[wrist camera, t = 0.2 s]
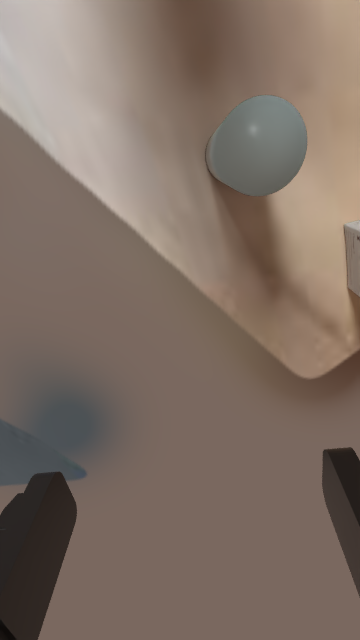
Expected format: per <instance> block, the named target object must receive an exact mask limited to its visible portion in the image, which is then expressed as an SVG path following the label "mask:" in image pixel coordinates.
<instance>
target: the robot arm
mask: <svg viewBox="0 0 360 640" xmlns="http://www.w3.org/2000/svg"><path fill="white" fill-rule="evenodd" d="M322 477H323V478H322V486H323V493H324V498H325V502H326V505H327V508H328V511H329V514H330V517H331V520H332V522H333V525H334V527H335V531H336V533H337V536H338V539H339V542H340V544H341V547H342V550H343V552H344V555H345V558H346V561H347V563H348V566H349V569H350V572H351V574H352V577H353V580H354V583H355V585H356V588H357V591H358V594H359V596H360V461H359V459H358V457H357V455H356V453H355V451H354V450H353V449H352V448H351V447H349V448H337V449H326V450H324V451H323V475H322ZM76 514H77V508H76V502H75V500H74V498H73V496H72V493H71V491H70V489H69V487H68V485H67V483H66V481H65V478H64V476H63V474H62V473H61V472H48V473H37V474H35V475H34V476H33V477H32V478H31V480H30V481H29V483H28V485H27V487H26V490H25V491H24V493H19V494H17V495H16V496H15V497H14V499H13V500H12V501H11V502H10V503H9V504H8V505H7V506H6V507H5V508H4V510H3V511H2V513H1V515H0V640H37V639H38V637H39V634H40V631H41V628H42V624H43V621H44V618H45V615H46V612H47V609H48V606H49V603H50V600H51V597H52V594H53V590H54V587H55V584H56V581H57V578H58V575H59V572H60V569H61V566H62V562H63V560H64V556H65V553H66V550H67V547H68V544H69V541H70V538H71V535H72V532H73V528H74V525H75V522H76V516H77V515H76Z"/></svg>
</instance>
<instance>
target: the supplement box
mask: <svg viewBox="0 0 360 640" xmlns="http://www.w3.org/2000/svg"><path fill="white" fill-rule="evenodd" d="M344 229H345V238H346V249H347V271H348V288H349V289H350V290H351V291H353V292H354V293H355V294H356V295H358V296H359V297H360V220H358V221H354V222H350V223H346V224H344Z"/></svg>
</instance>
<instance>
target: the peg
mask: <svg viewBox="0 0 360 640" xmlns="http://www.w3.org/2000/svg"><path fill="white" fill-rule="evenodd" d="M306 149H307V131H306V127H305V124H304V121H303V119H302V117H301V115H300V113H299V112H298V111H297V109H296V108H295V107H294V106H293V105H292V104H290V103H289V102H288V101H286V100H284V99H282V98H280V97H277V96H272V95H260V96H255V97H252V98H249V99H247V100H245V101H243V102H242V103H240V104H239V105H238V106H236V107H235V108H234V109H233V110H232V111H231V112H230V113H229V115H228V116H227V117H226V118H225V120H224V121H223V122H222V123H221V125H220V126H219V127H218V129H217V130H216V131H215V132H214V134H213V135H212V136H211V138H210V139H209V141H208V143H207V146H206V150H205V161H206V165H207V168H208V170H209V172H210V173H211V174H212V175H213V177H215V178H216V179H217V180H219V181H221V182H223V183H224V184H226V185H228V186H229V187H231V188H233V189H235V190H236V191H238V192H240V193H243V194H246V195H249V196H265V195H269V194H272V193H274V192H277V191H279V190H280V189H282V188H283V187H285V186H286V185H287V184H288V183H289V182H290V181H291V180H292V179H293V178H294V177H295V176H296V174H297V173H298V171H299V170H300V168H301V166H302V163H303V161H304V158H305V154H306Z"/></svg>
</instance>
